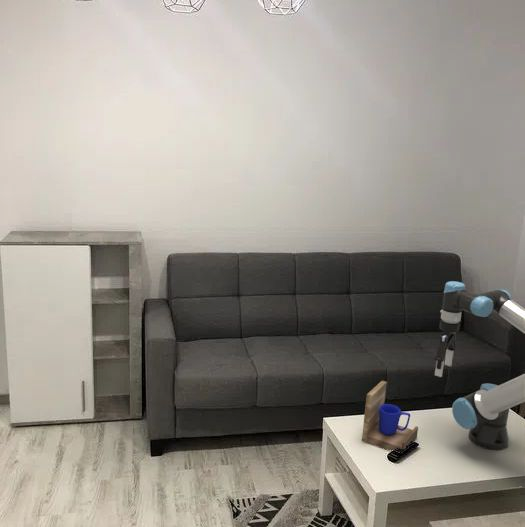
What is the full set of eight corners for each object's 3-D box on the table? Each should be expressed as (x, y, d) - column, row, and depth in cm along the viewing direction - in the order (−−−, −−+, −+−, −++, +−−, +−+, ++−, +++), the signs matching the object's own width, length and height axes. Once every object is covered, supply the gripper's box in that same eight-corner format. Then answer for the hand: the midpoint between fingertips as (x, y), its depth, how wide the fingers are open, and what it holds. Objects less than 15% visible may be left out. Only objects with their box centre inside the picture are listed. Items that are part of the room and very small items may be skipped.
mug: (407, 440, 238) (410, 416, 236) (376, 434, 240) (378, 411, 238) (407, 430, 246) (410, 407, 243) (377, 425, 248) (379, 402, 246)
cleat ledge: (416, 438, 246) (418, 427, 245) (403, 455, 233) (404, 443, 231) (381, 426, 253) (382, 415, 252) (366, 442, 240) (367, 431, 239)
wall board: (381, 426, 253) (386, 382, 249) (366, 442, 240) (371, 395, 235) (376, 425, 254) (382, 380, 250) (361, 441, 241) (366, 394, 236)
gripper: (449, 311, 254) (442, 358, 259) (431, 326, 233) (424, 378, 238) (467, 314, 250) (460, 363, 255) (451, 330, 229) (443, 383, 234)
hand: (443, 370), depth 247 cm, fingers open, 13 cm apart
